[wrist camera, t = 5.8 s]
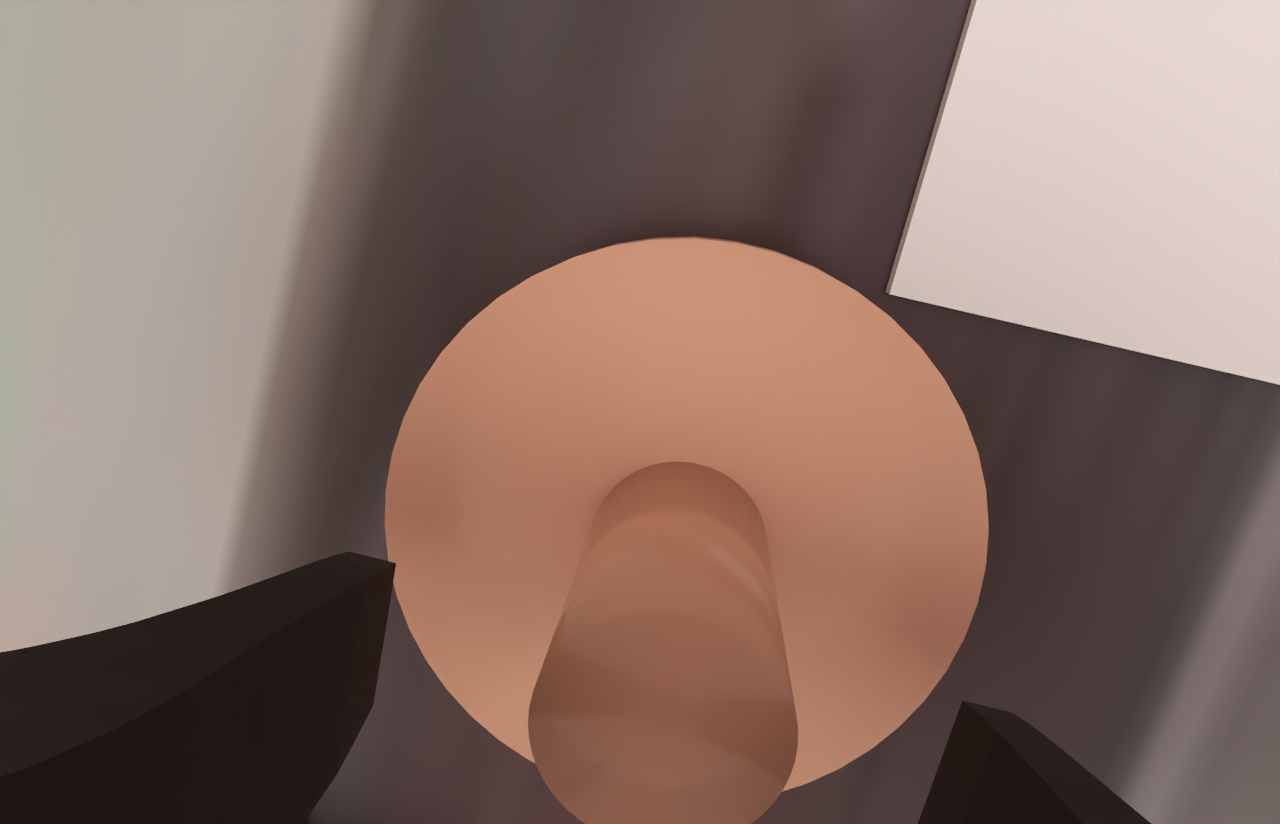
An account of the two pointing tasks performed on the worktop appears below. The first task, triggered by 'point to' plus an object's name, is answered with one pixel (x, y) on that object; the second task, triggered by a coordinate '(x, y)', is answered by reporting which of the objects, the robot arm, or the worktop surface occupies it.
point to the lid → (686, 527)
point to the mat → (1109, 178)
